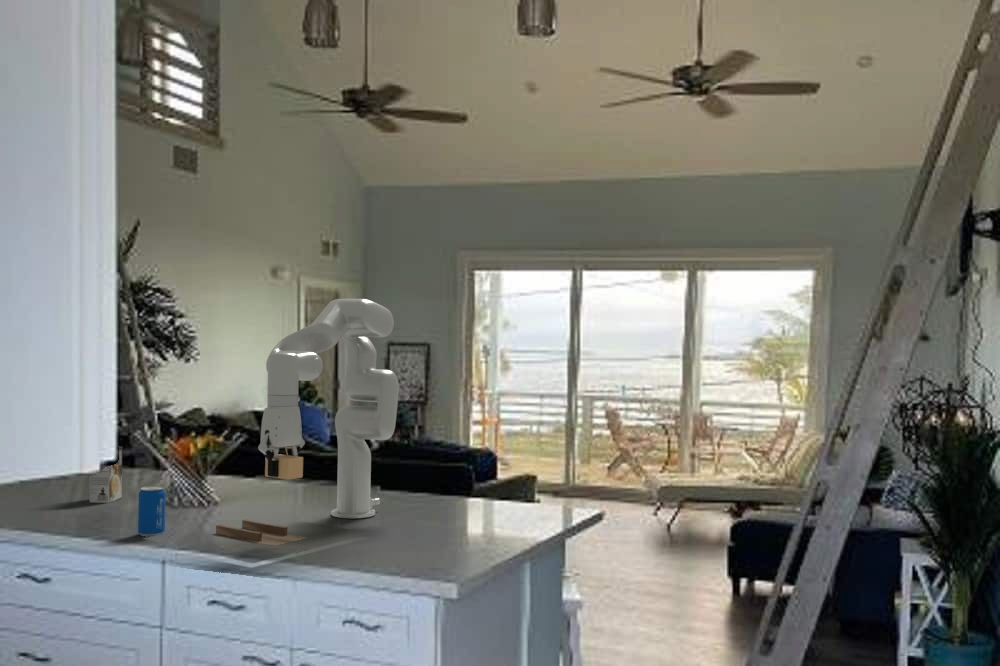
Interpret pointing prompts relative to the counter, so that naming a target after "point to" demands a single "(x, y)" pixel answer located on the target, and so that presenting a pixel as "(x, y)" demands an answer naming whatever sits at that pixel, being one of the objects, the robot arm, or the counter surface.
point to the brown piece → (259, 533)
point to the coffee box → (107, 483)
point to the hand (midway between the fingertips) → (281, 474)
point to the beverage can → (151, 511)
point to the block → (287, 467)
